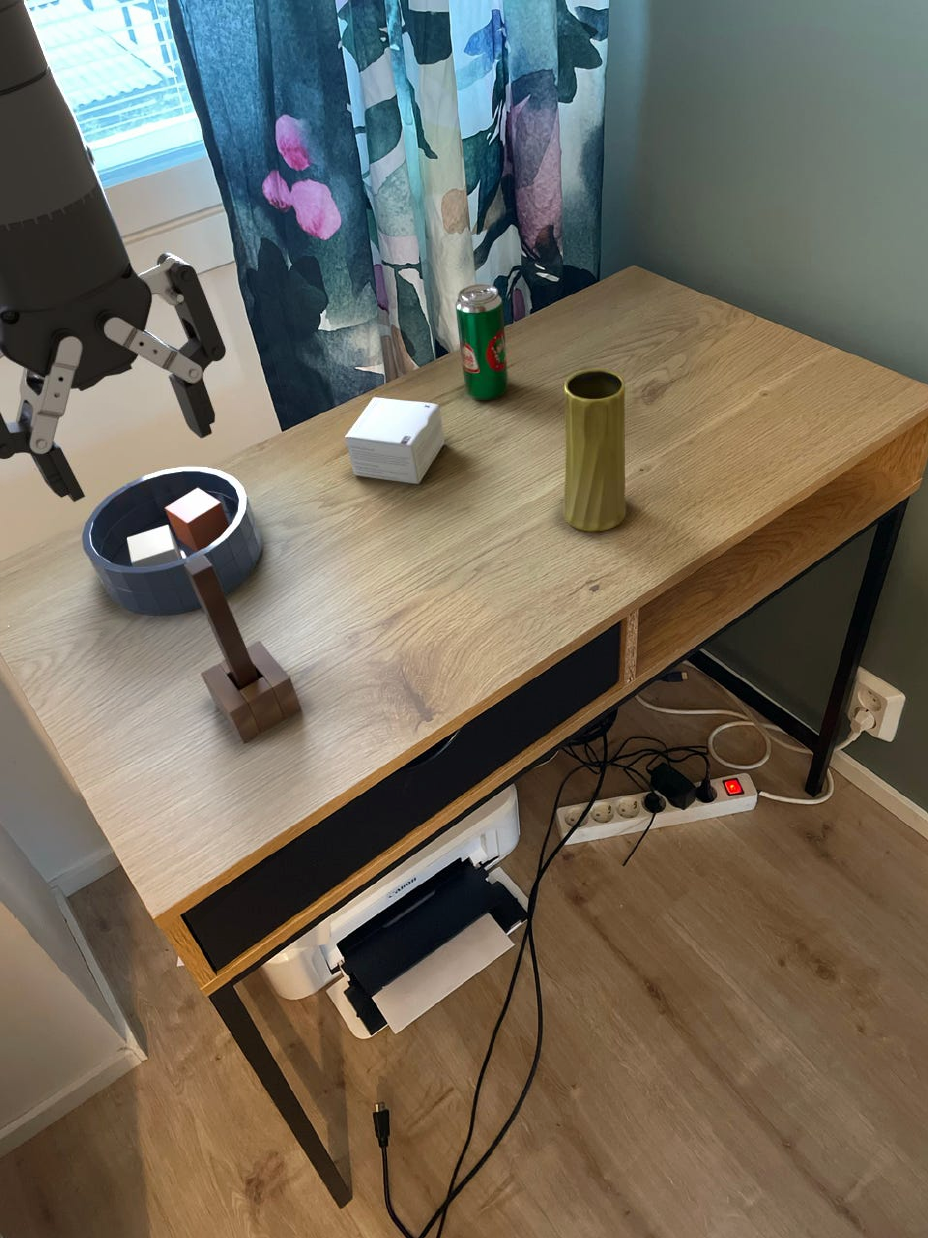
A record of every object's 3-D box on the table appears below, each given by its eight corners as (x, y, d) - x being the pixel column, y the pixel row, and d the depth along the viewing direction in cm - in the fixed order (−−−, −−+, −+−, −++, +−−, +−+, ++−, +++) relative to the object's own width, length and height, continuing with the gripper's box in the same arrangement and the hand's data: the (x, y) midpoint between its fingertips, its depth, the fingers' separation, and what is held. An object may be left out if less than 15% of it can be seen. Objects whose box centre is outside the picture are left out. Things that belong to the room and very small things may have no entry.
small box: (381, 434, 101) (373, 394, 97) (446, 443, 98) (440, 402, 94) (352, 476, 96) (342, 435, 92) (419, 486, 93) (412, 445, 90)
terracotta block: (200, 554, 88) (187, 523, 85) (177, 538, 90) (164, 507, 87) (232, 533, 90) (220, 502, 87) (210, 518, 92) (197, 487, 89)
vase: (553, 503, 89) (548, 376, 79) (609, 486, 90) (611, 358, 80) (578, 540, 85) (576, 410, 75) (637, 521, 86) (643, 391, 76)
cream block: (146, 593, 85) (131, 562, 82) (141, 568, 88) (126, 537, 85) (188, 580, 86) (174, 548, 83) (181, 555, 88) (168, 524, 85)
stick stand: (243, 744, 72) (229, 713, 69) (215, 704, 75) (200, 673, 72) (301, 708, 74) (290, 677, 71) (271, 671, 77) (259, 640, 74)
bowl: (140, 641, 81) (117, 598, 77) (82, 556, 91) (59, 514, 87) (289, 561, 87) (275, 518, 83) (220, 490, 96) (204, 447, 92)
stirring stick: (253, 717, 74) (192, 575, 62) (245, 705, 75) (182, 564, 63) (270, 707, 74) (212, 565, 63) (262, 695, 75) (203, 554, 64)
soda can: (460, 385, 106) (448, 288, 97) (500, 375, 107) (492, 278, 98) (473, 407, 103) (462, 308, 94) (514, 396, 103) (507, 297, 95)
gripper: (120, 128, 48) (212, 392, 60) (-153, 218, 43) (6, 489, 54) (183, 157, 44) (269, 435, 55) (-112, 262, 38) (51, 546, 50)
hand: (139, 462), depth 55 cm, fingers open, 8 cm apart
